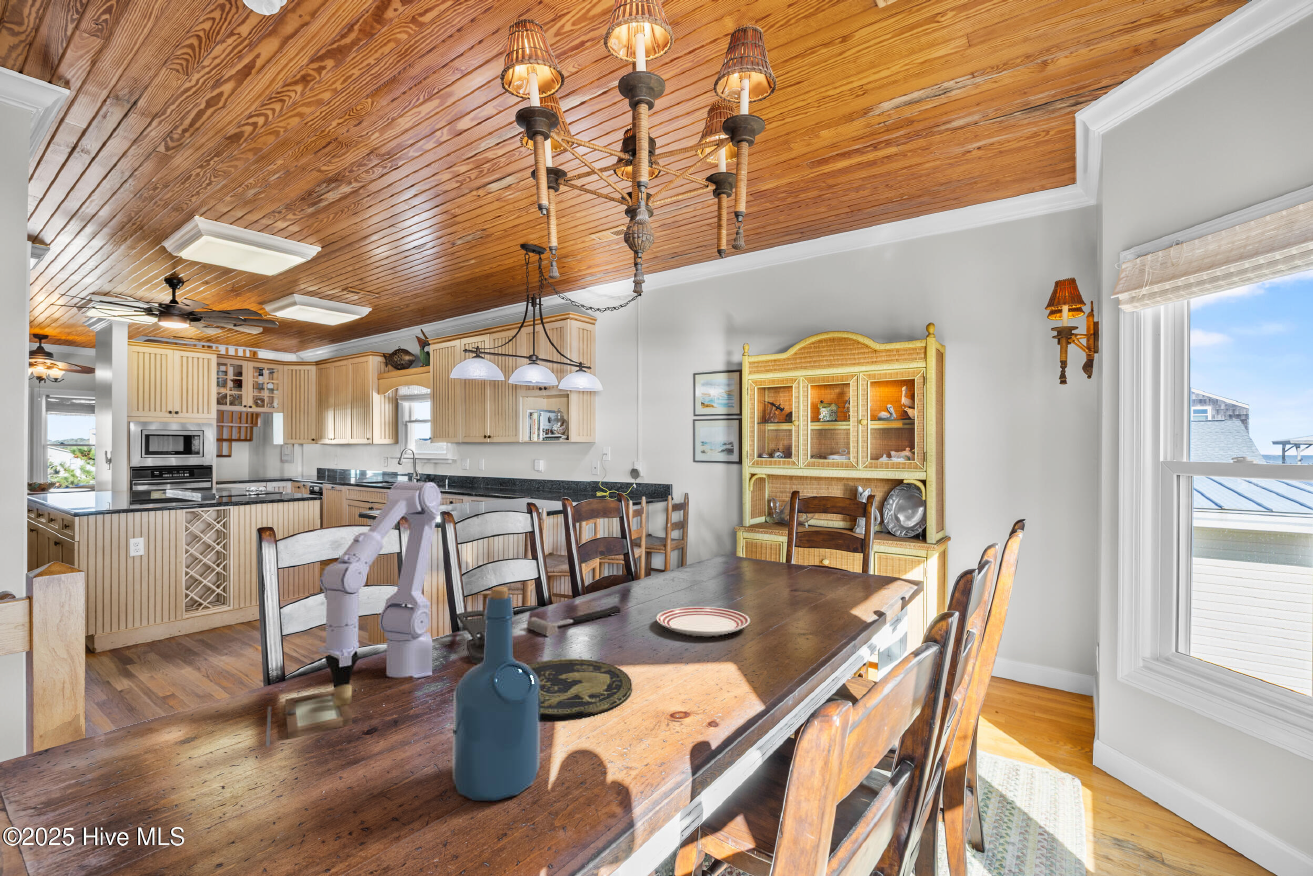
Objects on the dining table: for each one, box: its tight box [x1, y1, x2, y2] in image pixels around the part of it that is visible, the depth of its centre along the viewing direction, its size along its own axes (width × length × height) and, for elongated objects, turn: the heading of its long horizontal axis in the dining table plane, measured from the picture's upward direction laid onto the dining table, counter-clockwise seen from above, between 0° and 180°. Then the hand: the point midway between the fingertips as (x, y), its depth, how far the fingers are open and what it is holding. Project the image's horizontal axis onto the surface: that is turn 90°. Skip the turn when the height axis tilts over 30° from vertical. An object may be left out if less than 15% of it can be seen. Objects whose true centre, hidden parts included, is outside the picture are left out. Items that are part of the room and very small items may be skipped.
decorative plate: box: [525, 658, 633, 722], centre depth 127 cm, size 30×2×30 cm
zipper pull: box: [455, 610, 486, 665], centre depth 153 cm, size 9×7×25 cm
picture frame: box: [284, 684, 353, 740], centre depth 112 cm, size 11×16×4 cm
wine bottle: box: [451, 586, 541, 802], centre depth 92 cm, size 14×13×30 cm
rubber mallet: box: [527, 605, 621, 637], centre depth 175 cm, size 10×4×30 cm
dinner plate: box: [655, 606, 751, 638], centre depth 172 cm, size 28×27×3 cm
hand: (341, 691), depth 117 cm, fingers closed
